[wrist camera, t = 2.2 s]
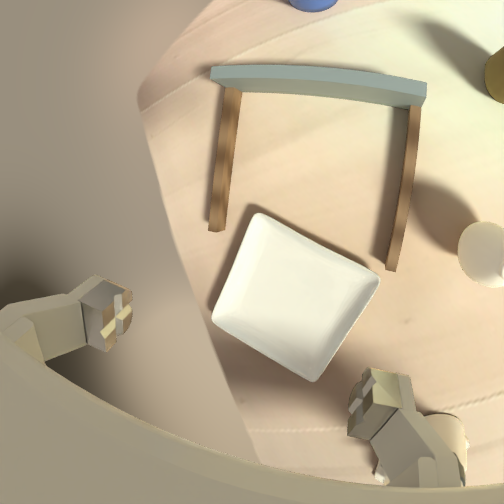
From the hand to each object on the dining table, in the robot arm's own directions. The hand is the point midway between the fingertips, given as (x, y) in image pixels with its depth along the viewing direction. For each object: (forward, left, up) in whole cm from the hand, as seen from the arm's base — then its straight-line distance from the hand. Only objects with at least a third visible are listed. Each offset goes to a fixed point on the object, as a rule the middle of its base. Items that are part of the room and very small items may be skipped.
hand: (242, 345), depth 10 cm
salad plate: (-14, +7, -39) cm, 42 cm away
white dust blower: (+1, -19, -38) cm, 43 cm away
